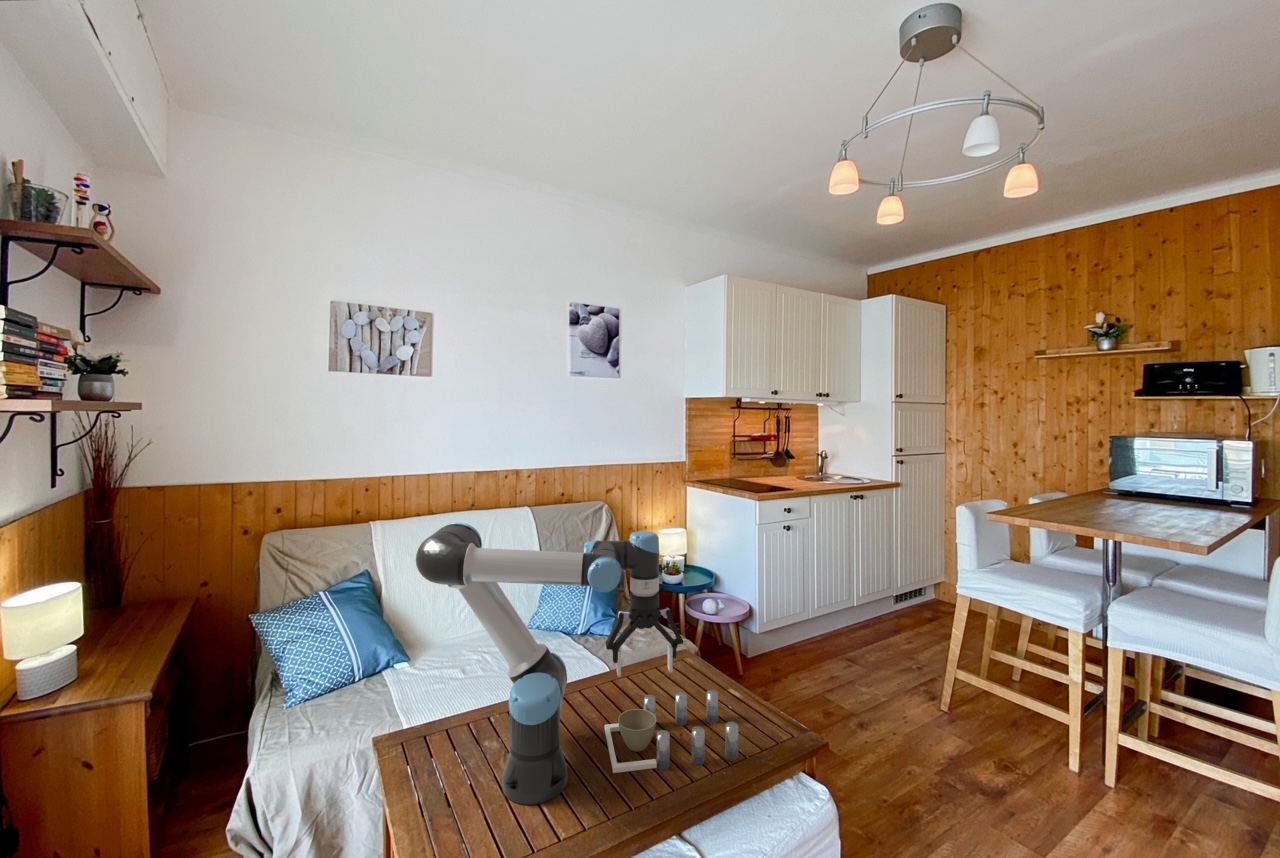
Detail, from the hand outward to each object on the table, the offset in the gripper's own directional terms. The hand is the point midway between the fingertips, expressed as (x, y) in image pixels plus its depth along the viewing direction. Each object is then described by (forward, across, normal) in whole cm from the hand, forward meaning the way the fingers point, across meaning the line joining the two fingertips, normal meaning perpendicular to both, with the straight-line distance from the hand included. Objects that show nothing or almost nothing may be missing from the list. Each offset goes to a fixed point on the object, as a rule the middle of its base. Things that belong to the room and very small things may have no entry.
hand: (644, 672), depth 141 cm
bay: (+19, -4, -1) cm, 20 cm away
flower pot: (+20, -2, 0) cm, 20 cm away
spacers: (+19, +12, 0) cm, 23 cm away
